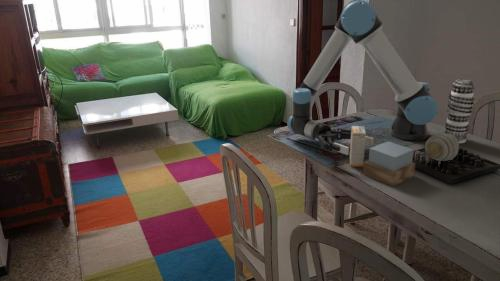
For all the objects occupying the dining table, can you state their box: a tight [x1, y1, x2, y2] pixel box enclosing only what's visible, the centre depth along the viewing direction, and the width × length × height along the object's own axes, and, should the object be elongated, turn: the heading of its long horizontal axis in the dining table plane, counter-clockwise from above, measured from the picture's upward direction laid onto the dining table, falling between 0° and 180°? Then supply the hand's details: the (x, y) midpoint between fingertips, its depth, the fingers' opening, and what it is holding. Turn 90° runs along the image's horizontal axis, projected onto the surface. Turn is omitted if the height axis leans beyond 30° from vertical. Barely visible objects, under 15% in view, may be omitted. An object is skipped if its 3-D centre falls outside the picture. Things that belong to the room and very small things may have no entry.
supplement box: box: [349, 125, 367, 168], centre depth 139 cm, size 8×5×13 cm, turn 168°
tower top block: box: [368, 141, 415, 171], centre depth 129 cm, size 10×10×5 cm
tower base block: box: [362, 159, 417, 187], centre depth 130 cm, size 12×12×5 cm
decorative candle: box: [443, 78, 476, 144], centre depth 154 cm, size 9×9×25 cm
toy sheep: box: [424, 132, 460, 161], centre depth 137 cm, size 11×17×11 cm, turn 130°
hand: (360, 146), depth 138 cm, fingers open, 13 cm apart
